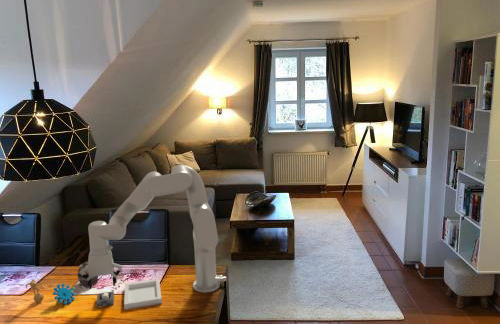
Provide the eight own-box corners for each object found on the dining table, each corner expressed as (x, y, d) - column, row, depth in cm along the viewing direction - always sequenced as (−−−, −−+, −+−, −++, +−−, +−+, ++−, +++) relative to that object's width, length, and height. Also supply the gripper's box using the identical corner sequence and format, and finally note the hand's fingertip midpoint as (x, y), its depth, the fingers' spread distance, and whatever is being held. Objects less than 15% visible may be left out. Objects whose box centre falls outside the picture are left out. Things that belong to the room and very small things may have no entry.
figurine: (50, 299, 180) (47, 274, 177) (43, 307, 174) (39, 281, 171) (33, 298, 180) (29, 274, 178) (24, 306, 174) (20, 281, 172)
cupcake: (73, 285, 191) (71, 266, 189) (88, 276, 200) (86, 257, 197) (89, 289, 187) (86, 270, 185) (104, 279, 196) (101, 260, 194)
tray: (159, 283, 191) (159, 278, 191) (161, 303, 175) (161, 298, 174) (125, 288, 187) (125, 283, 187) (124, 309, 171) (124, 304, 170)
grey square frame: (114, 296, 181) (113, 291, 180) (113, 306, 173) (112, 301, 173) (98, 298, 179) (97, 293, 179) (96, 309, 171) (95, 303, 171)
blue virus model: (62, 306, 171) (50, 287, 173) (55, 313, 173) (42, 295, 175) (82, 296, 182) (69, 278, 183) (74, 303, 183) (62, 286, 185)
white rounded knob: (109, 299, 179) (108, 291, 178) (108, 303, 176) (108, 295, 175) (102, 300, 178) (101, 292, 177) (102, 304, 175) (101, 296, 174)
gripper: (121, 244, 177) (123, 279, 181) (79, 248, 173) (82, 284, 176) (120, 251, 170) (123, 287, 174) (76, 255, 166) (80, 293, 169)
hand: (102, 286), depth 175 cm, fingers open, 9 cm apart
